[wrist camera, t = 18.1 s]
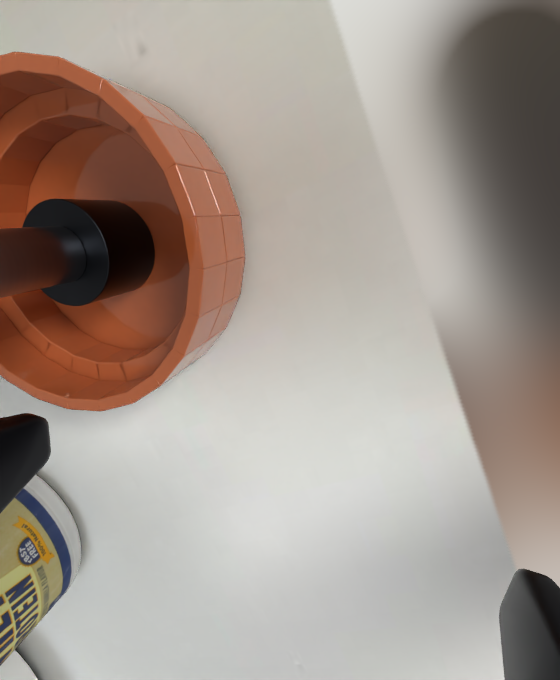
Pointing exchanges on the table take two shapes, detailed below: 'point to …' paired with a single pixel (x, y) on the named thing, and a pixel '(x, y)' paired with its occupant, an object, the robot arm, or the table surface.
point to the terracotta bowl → (142, 196)
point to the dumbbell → (76, 251)
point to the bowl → (16, 669)
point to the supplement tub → (34, 560)
